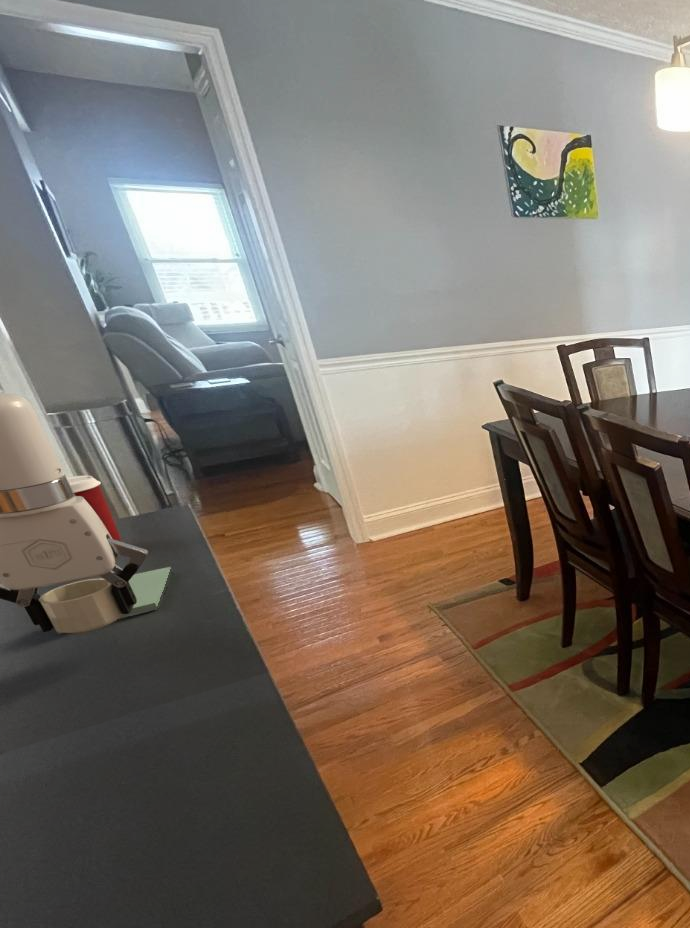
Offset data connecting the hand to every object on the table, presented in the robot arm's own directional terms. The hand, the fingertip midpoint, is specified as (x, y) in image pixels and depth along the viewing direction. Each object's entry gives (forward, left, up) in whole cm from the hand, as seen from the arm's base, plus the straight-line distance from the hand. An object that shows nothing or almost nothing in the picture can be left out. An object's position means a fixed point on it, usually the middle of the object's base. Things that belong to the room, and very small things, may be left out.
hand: (90, 617), depth 81 cm
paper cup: (-8, +45, -5) cm, 46 cm away
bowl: (0, 0, -1) cm, 1 cm away
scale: (-1, +17, -5) cm, 18 cm away
